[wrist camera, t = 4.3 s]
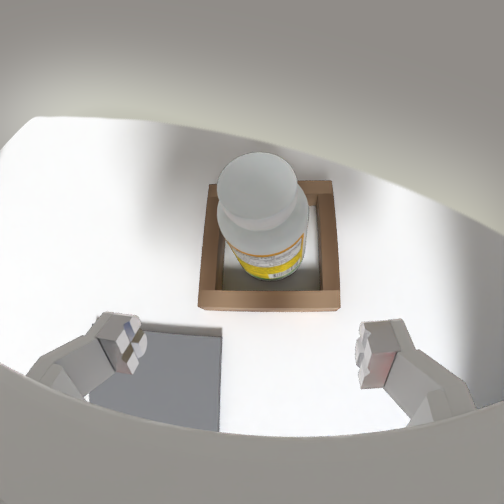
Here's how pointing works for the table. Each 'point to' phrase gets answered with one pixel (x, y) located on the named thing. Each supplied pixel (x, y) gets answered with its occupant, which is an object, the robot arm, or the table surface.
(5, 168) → the table surface
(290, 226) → the supplement bottle
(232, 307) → the wooden square frame
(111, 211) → the table surface
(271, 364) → the table surface
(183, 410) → the pad
